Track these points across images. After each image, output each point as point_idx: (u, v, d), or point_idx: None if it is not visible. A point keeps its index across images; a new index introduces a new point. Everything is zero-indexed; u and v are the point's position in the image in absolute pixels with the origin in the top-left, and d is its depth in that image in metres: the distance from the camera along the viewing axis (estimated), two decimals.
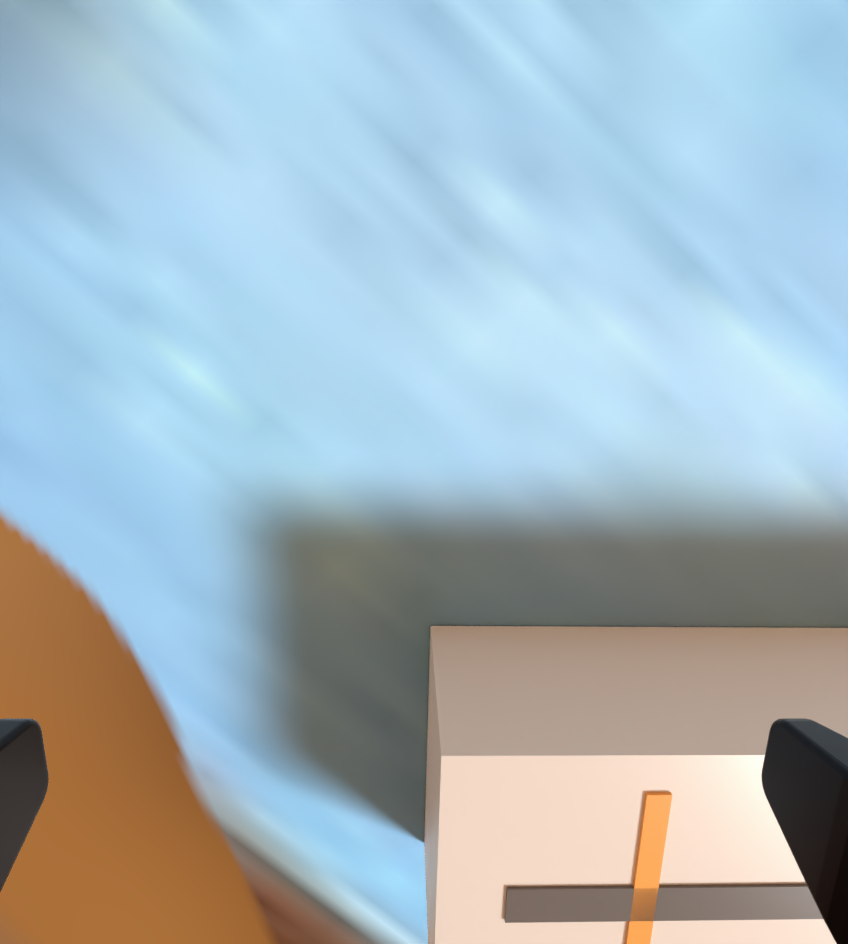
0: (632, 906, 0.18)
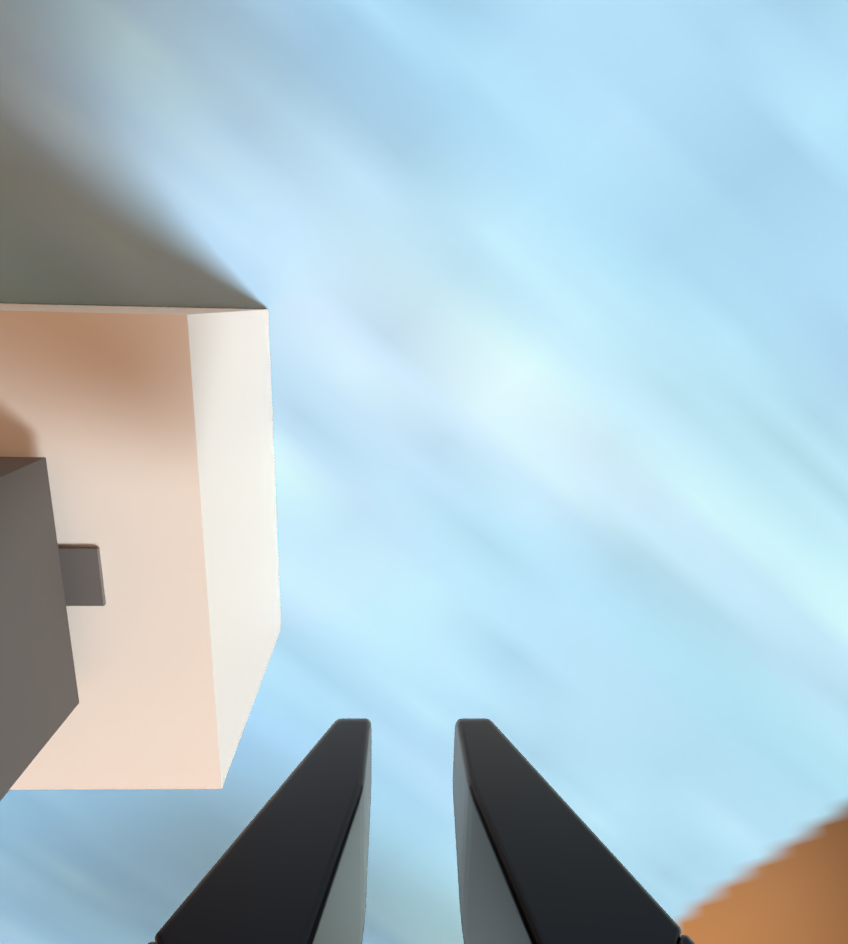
0: None
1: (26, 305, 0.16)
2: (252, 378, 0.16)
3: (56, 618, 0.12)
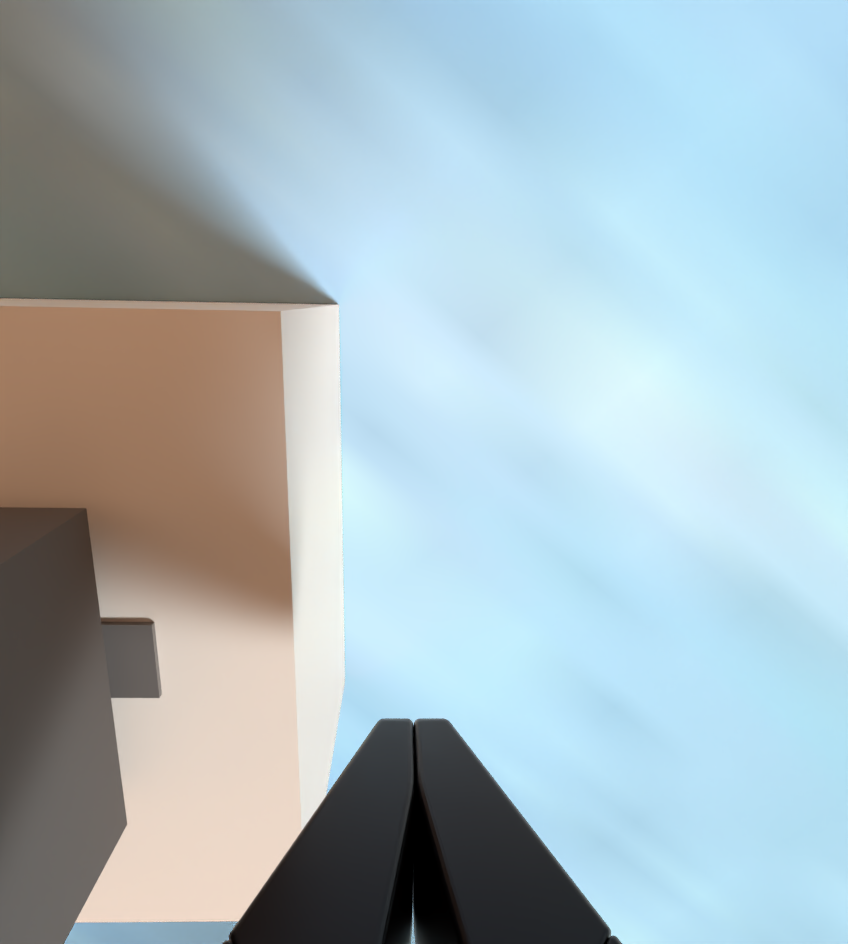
0: None
1: (50, 300, 0.13)
2: (328, 390, 0.13)
3: (100, 723, 0.09)
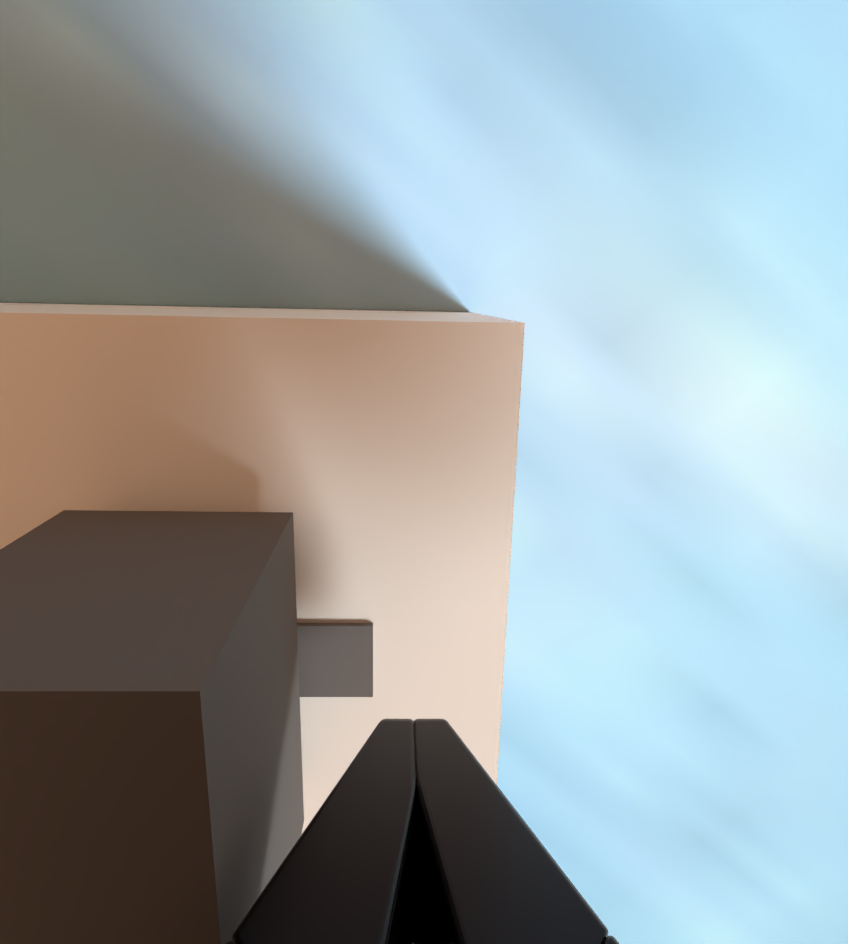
0: None
1: None
2: None
3: (295, 721, 0.09)
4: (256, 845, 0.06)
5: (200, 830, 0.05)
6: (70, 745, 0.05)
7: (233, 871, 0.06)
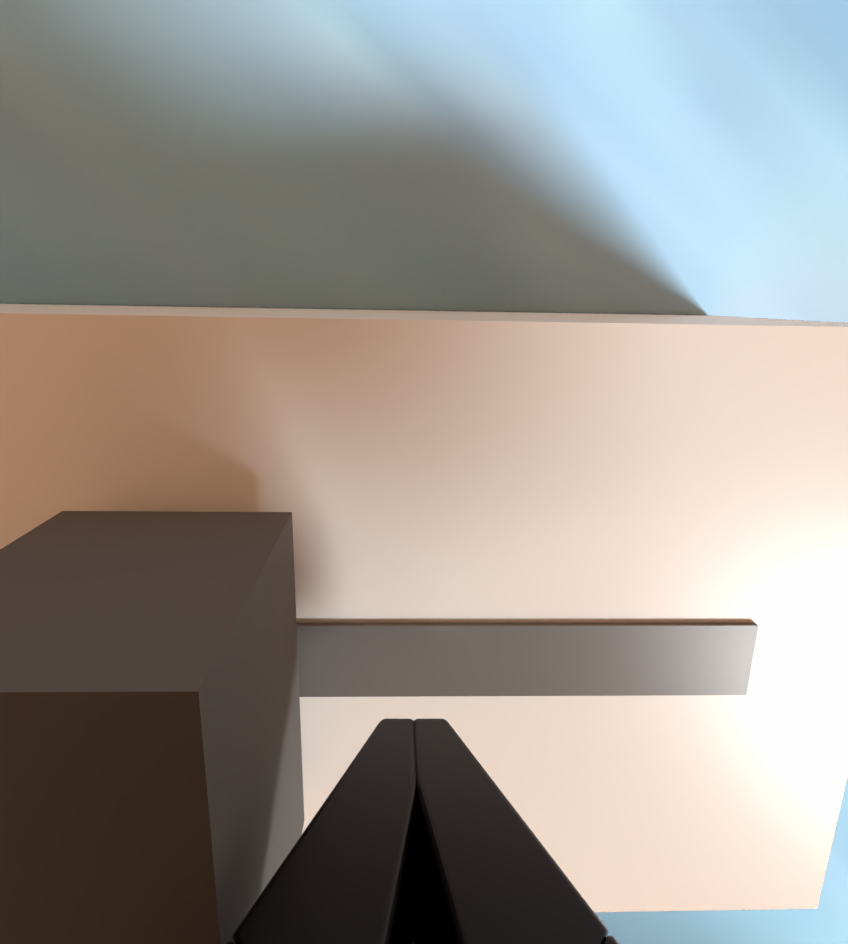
0: None
1: (494, 313, 0.13)
2: None
3: (295, 721, 0.09)
4: (255, 845, 0.06)
5: (200, 832, 0.05)
6: (68, 744, 0.05)
7: (234, 872, 0.06)
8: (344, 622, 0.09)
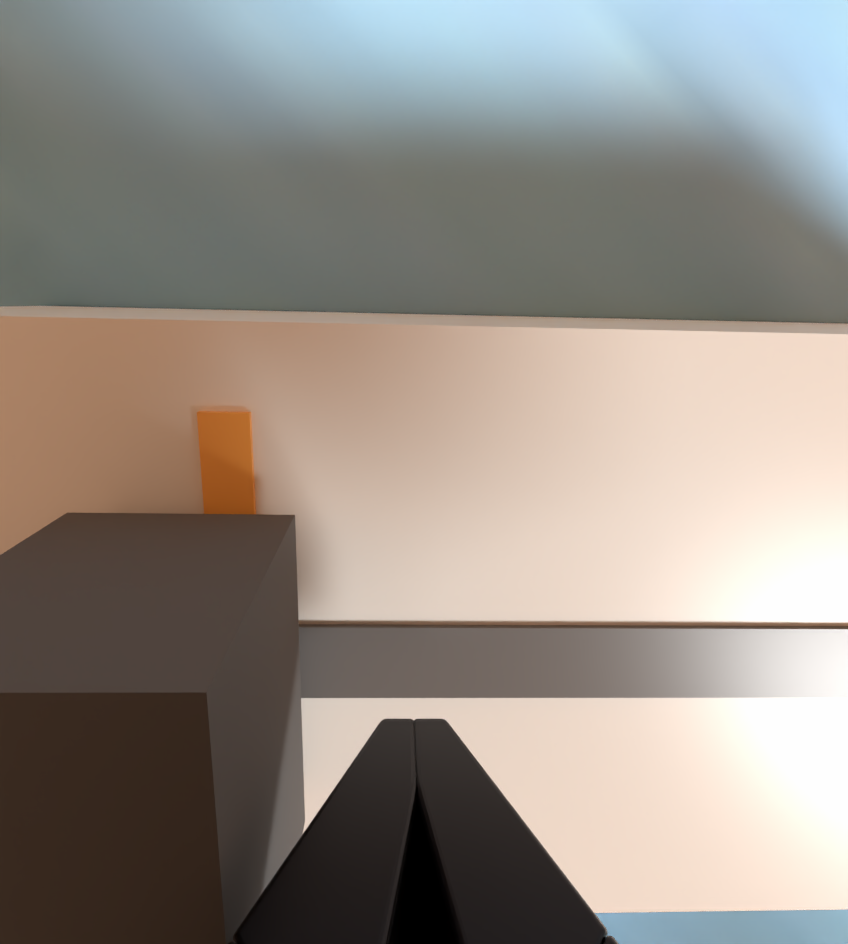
0: None
1: (785, 324, 0.13)
2: None
3: (296, 722, 0.09)
4: (258, 844, 0.07)
5: (207, 830, 0.05)
6: (77, 746, 0.05)
7: (239, 869, 0.06)
8: (749, 626, 0.10)
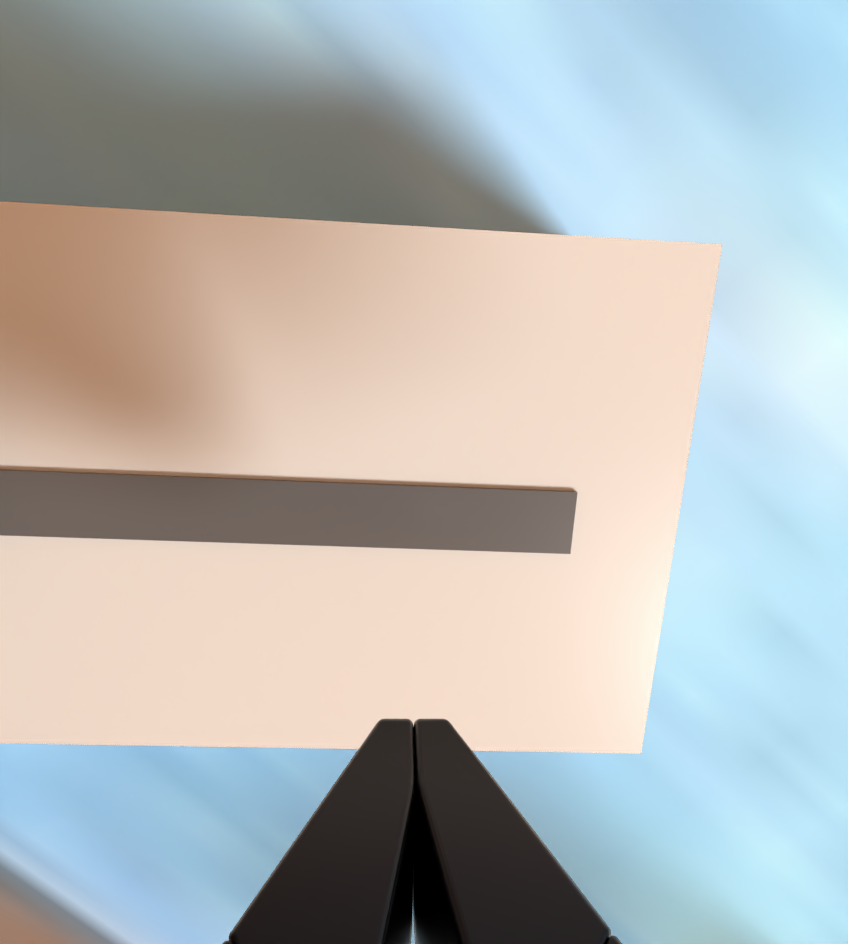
0: None
1: None
2: None
3: None
4: None
5: None
6: None
7: None
8: (233, 478, 0.11)
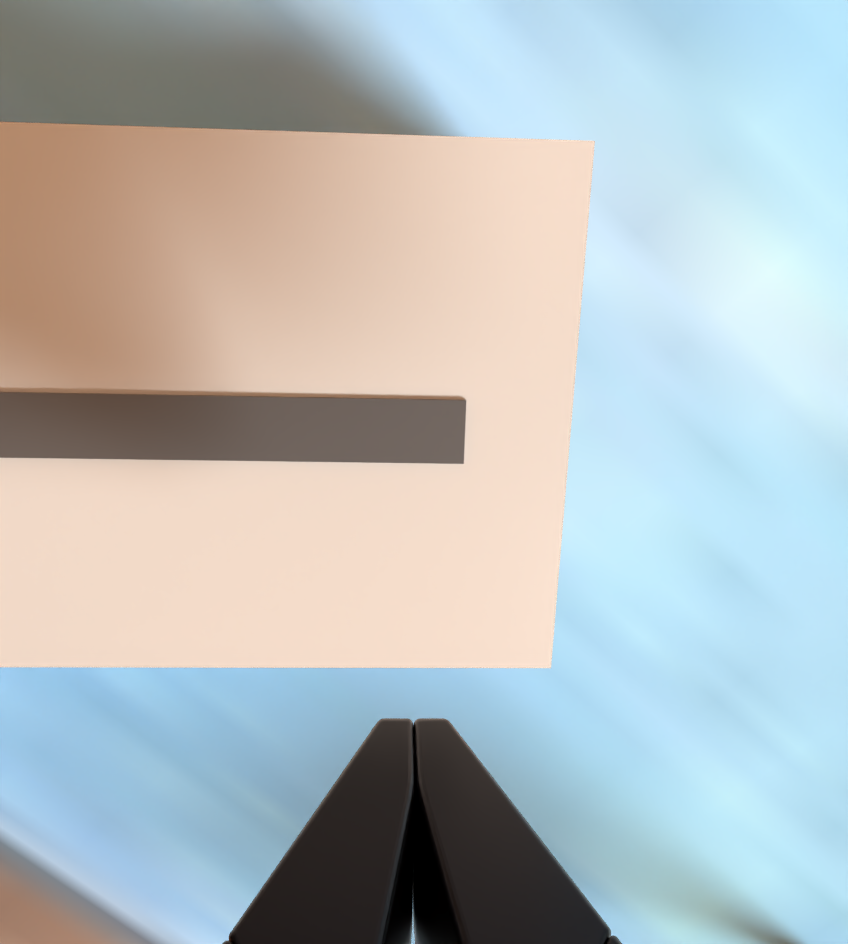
0: None
1: None
2: None
3: None
4: None
5: None
6: None
7: None
8: (123, 394, 0.12)
